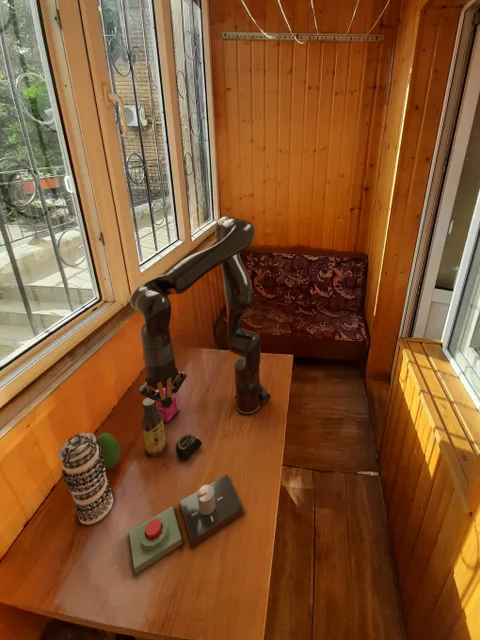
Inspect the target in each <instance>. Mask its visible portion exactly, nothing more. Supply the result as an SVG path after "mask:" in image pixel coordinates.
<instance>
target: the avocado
mask: <svg viewBox="0 0 480 640" xmlns="http://www.w3.org/2000/svg"><path fill="white" fill-rule="evenodd" d="M96 444H98V445H99V446H101V447H102V449H101V450H102V452H103V454H102V455H103V457H104V458H103V460H104V462H105V463H104V465H105V470H106V471H108V470H111V469H113V468H114V467H116V465H117V464H118V463H119V460H120V457H121V452H122V449H121V445H120V443H119V441H118V440H117V439H116V438H115V437H114V436H113V435H112V434H111V433H110V432H107V431H104V432H102V433H100V434H99V435H98V436H97V437H96ZM99 454H100V453H99Z"/></svg>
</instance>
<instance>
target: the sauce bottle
mask: <svg viewBox="0 0 480 640" xmlns="http://www.w3.org/2000/svg"><path fill="white" fill-rule="evenodd" d="M156 403H157V401H154V400H152V399H150V398H148V397H145V398H144V399H143V400H142V403H141V404H142V407H143V415H142V418H141V426H142V427H141V428H142V433H143V434H142V435H143V440H144V441H143V442H144V447H145V450H146V454H148V455H149V456H150V457H156V456H158V455H159V454H161V453H162V452H164V450H165V449H166V445H167V444H166V443H167V440H166V433H165V425H164V421H163V417H162V416H161V414H160V413H159V411H158V410H157V405H156Z"/></svg>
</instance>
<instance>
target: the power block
mask: <svg viewBox="0 0 480 640" xmlns="http://www.w3.org/2000/svg"><path fill="white" fill-rule="evenodd" d="M153 519H158V520H160V522H161V527H162V530H161V533H160V534H159V536H158V537H157V538H155V539H153V540H150V539H148V538H147V536H146V531H145V529H146V526H147V524H148V523H149V522H150V521H151V520H153ZM128 536H129V542H130V550H131V557H132V564H133V571H134V574H135V575H137V574H139V572H141V571H143V570H144V569H146V568H147V567H149V566H150V565H152V564H153V563H155V562H157V561H158V560H160V559H162V558H163V557H165V556H166V555H168V554H169V553H170V552H173V551H174V550H175V549H177V548H179V547H180V546H182V545H183V540H182V536H181V532H180V528H179V524H178V520H177V516H176V513H175V509H174V506H173V505H172V506H170V507H168V508H167V509H165V510H163V511H161V512H160V513H157V514H156V515H154V516H152V517H150V518H149V519H147V520H146V521H144V522H142V523H140V524H138V525H136V526H135V527H133V528H131V529H130V530H128Z"/></svg>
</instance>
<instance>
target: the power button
mask: <svg viewBox="0 0 480 640" xmlns="http://www.w3.org/2000/svg"><path fill="white" fill-rule="evenodd" d="M161 530H162V527H161V522H160V520H158V519H153V520H151V521H150V522H149V523H148V524H147V526H146V529H145V531H146V536H147V538H148V539H150V540H153V539H155V538H157V537H158V536H159V534H160V533H161Z"/></svg>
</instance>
